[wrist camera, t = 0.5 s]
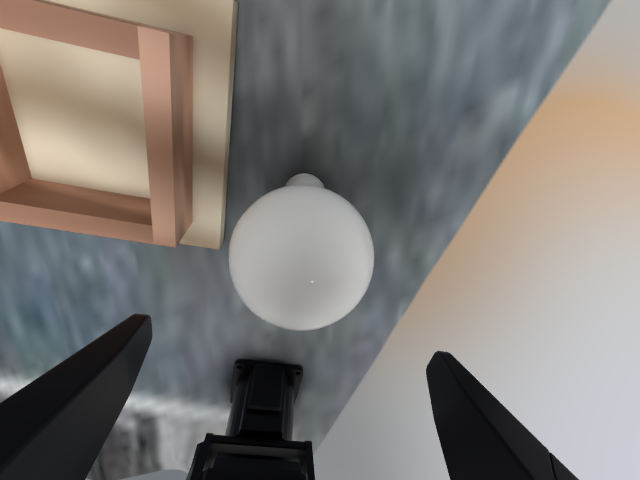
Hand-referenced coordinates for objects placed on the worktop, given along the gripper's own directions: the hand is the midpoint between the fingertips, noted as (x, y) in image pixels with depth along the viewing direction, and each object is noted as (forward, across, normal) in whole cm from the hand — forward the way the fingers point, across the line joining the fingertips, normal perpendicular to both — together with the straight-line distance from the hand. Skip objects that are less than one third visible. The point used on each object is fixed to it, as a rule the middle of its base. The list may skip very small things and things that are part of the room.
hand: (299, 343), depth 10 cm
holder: (+13, +12, -2) cm, 18 cm away
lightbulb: (+13, 0, 0) cm, 13 cm away
